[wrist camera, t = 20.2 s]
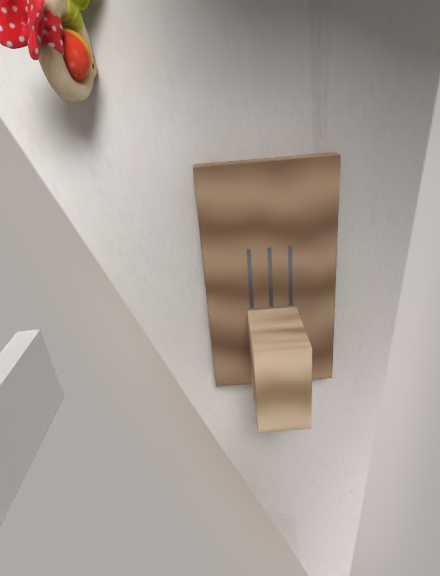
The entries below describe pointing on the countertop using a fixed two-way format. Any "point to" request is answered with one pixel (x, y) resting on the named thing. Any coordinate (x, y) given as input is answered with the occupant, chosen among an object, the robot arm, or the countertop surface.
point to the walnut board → (268, 251)
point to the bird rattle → (52, 42)
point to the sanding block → (280, 368)
